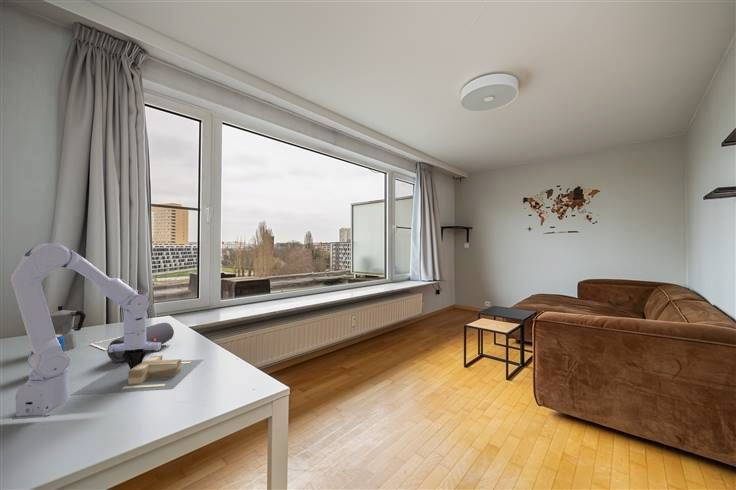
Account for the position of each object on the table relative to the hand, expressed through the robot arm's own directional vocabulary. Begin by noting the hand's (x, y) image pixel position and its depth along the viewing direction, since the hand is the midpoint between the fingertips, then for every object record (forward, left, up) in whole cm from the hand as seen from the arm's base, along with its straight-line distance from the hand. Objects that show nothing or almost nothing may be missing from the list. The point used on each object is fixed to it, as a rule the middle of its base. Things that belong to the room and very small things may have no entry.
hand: (135, 372), depth 97 cm
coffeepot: (+33, +46, -2) cm, 57 cm away
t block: (0, -7, -1) cm, 7 cm away
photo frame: (+40, +28, -3) cm, 49 cm away
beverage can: (+10, +32, -2) cm, 34 cm away
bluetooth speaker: (+23, +10, -2) cm, 25 cm away
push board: (0, -3, -2) cm, 4 cm away
